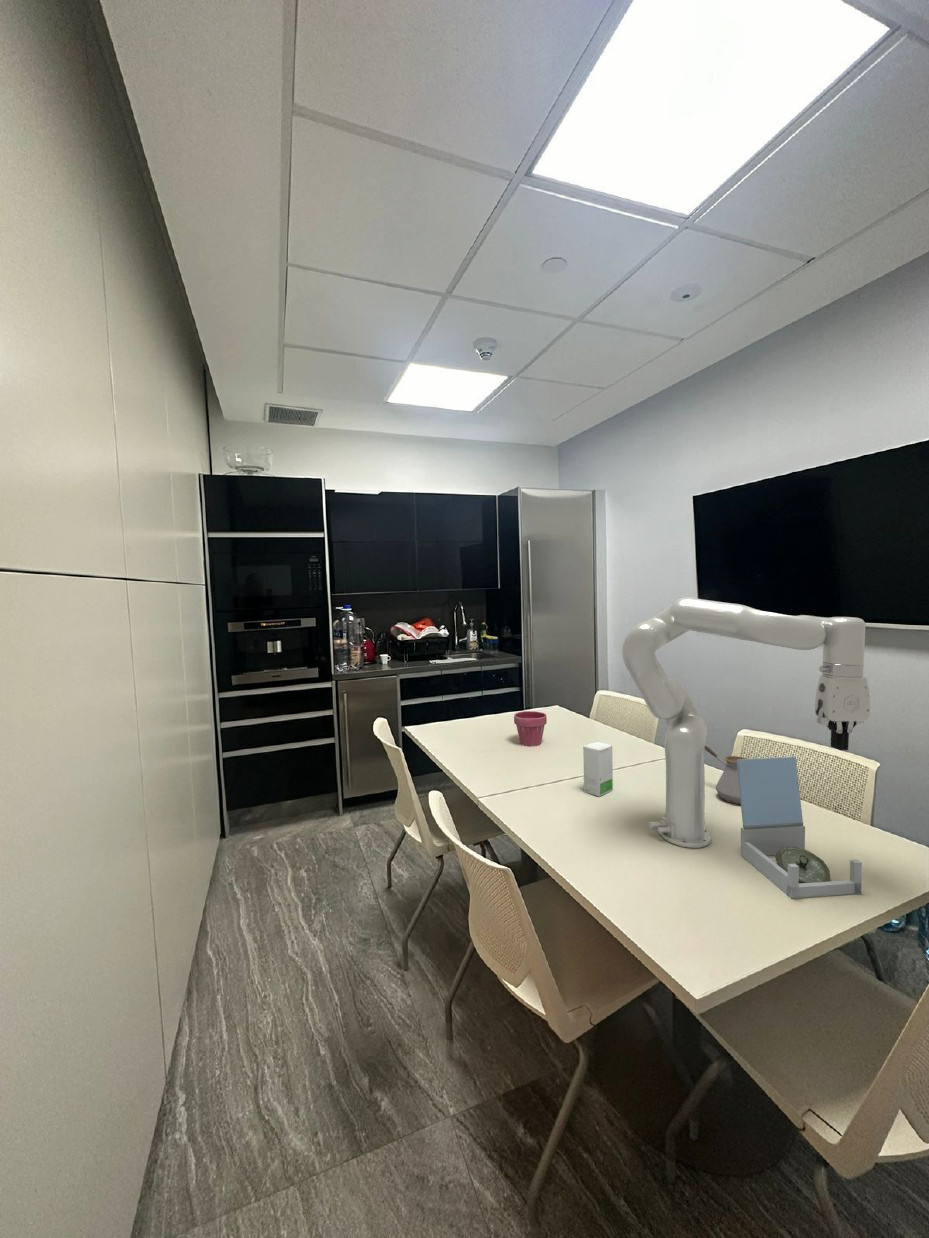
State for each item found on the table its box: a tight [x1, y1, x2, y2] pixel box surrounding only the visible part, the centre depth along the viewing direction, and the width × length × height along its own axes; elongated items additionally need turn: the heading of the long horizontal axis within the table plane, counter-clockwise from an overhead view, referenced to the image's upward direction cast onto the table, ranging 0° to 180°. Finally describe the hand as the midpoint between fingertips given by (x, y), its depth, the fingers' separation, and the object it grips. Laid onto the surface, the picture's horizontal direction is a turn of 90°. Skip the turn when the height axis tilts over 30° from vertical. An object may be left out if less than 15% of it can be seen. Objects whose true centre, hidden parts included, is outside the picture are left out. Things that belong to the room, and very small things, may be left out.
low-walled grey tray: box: [740, 824, 863, 899], centre depth 115 cm, size 16×17×7 cm
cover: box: [737, 756, 804, 829], centre depth 123 cm, size 15×17×1 cm
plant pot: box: [513, 710, 548, 747], centre depth 215 cm, size 14×14×13 cm
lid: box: [775, 847, 831, 884], centre depth 114 cm, size 11×10×5 cm
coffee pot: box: [704, 745, 746, 805], centre depth 159 cm, size 21×12×15 cm, turn 23°
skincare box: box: [582, 741, 614, 798], centre depth 163 cm, size 8×7×16 cm
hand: (839, 748), depth 114 cm, fingers closed
